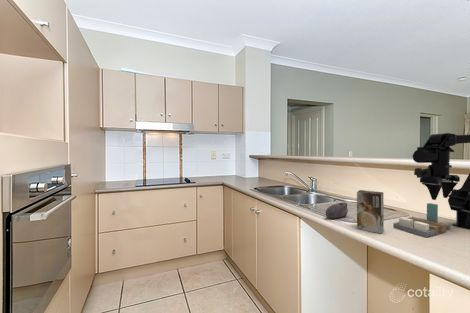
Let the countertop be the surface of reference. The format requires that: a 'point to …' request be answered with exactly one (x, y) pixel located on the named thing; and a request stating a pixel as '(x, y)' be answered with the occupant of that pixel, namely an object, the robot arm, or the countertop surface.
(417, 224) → the tile
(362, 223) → the coffee box
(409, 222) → the tile
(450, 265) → the countertop surface
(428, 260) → the countertop surface
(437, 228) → the walnut board
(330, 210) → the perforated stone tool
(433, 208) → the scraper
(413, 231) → the box
